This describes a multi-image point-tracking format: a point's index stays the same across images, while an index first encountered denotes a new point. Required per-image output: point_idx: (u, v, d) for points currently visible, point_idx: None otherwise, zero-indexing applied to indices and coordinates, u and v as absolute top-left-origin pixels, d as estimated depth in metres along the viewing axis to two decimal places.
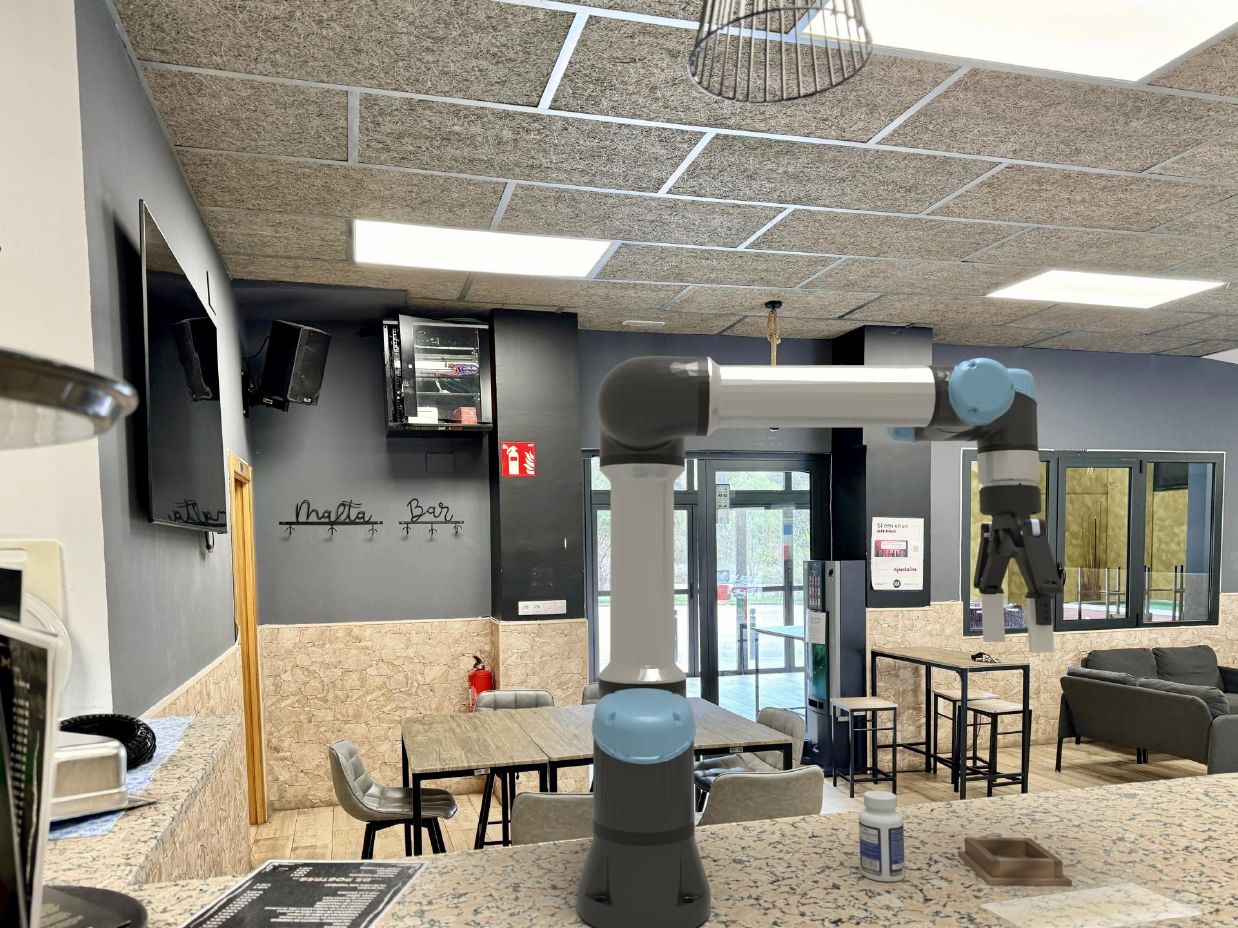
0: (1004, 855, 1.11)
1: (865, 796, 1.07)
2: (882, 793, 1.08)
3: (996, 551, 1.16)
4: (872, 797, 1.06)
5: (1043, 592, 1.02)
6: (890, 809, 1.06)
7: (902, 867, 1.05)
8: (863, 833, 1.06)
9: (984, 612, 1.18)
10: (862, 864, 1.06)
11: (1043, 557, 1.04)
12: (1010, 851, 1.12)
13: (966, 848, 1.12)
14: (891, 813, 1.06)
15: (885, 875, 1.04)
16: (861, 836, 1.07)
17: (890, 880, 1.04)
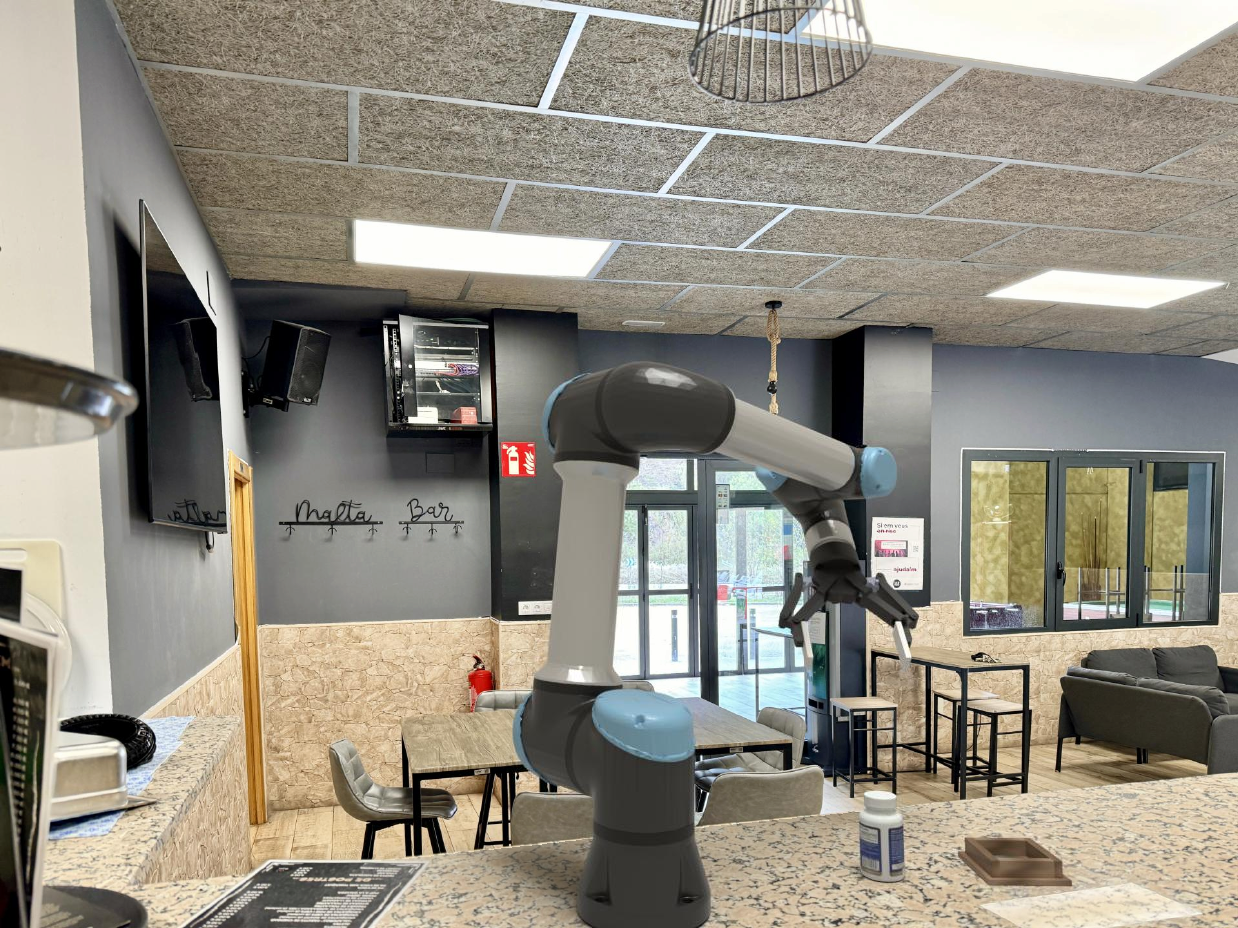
0: (1004, 855, 1.11)
1: (865, 796, 1.07)
2: (882, 793, 1.08)
3: None
4: (872, 797, 1.06)
5: (917, 618, 1.24)
6: (890, 809, 1.06)
7: (902, 867, 1.05)
8: (863, 833, 1.06)
9: (808, 634, 1.22)
10: (862, 864, 1.06)
11: None
12: (1010, 851, 1.12)
13: (966, 848, 1.12)
14: (891, 813, 1.06)
15: (885, 875, 1.04)
16: (861, 836, 1.07)
17: (890, 880, 1.04)
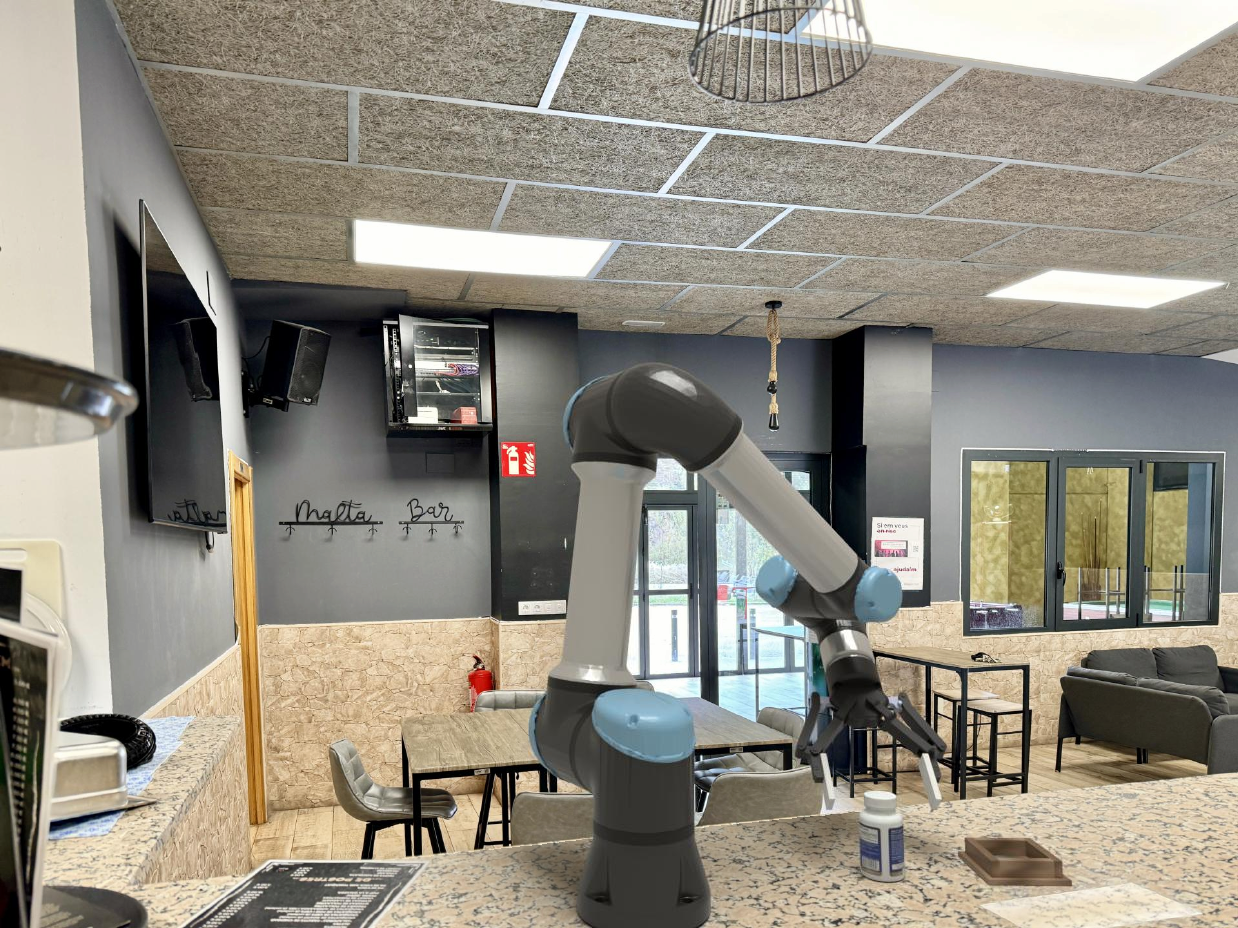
0: (1004, 855, 1.11)
1: (865, 796, 1.07)
2: (882, 793, 1.08)
3: None
4: (872, 797, 1.06)
5: (945, 749, 1.15)
6: (890, 810, 1.06)
7: (902, 867, 1.05)
8: (863, 833, 1.06)
9: (828, 770, 1.12)
10: (862, 864, 1.06)
11: None
12: (1010, 851, 1.12)
13: (966, 848, 1.12)
14: (891, 813, 1.06)
15: (885, 875, 1.04)
16: (861, 836, 1.07)
17: (890, 880, 1.04)
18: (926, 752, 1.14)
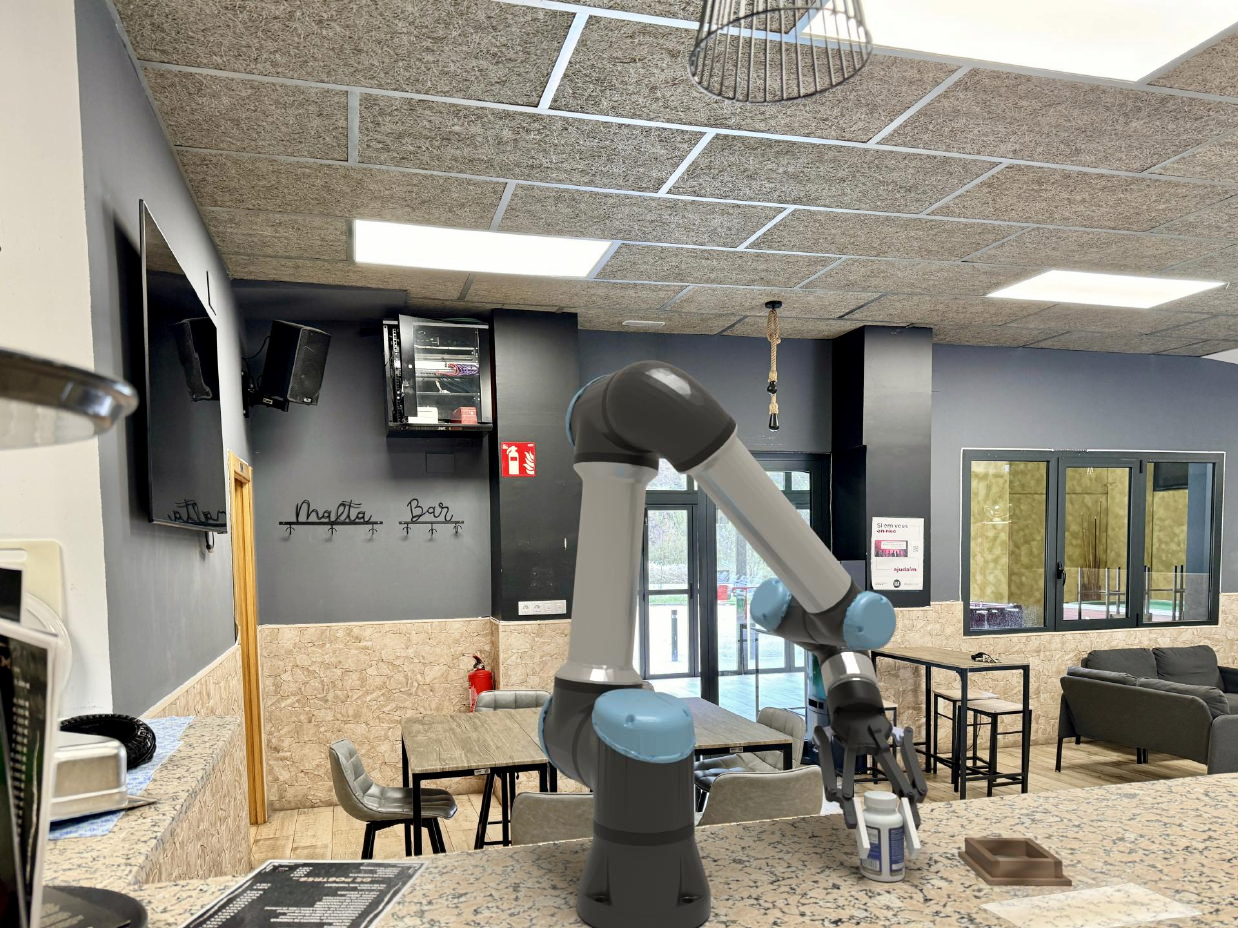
0: (1004, 855, 1.11)
1: (865, 796, 1.07)
2: (882, 793, 1.08)
3: None
4: (872, 797, 1.06)
5: (924, 793, 1.08)
6: (890, 809, 1.06)
7: (902, 867, 1.05)
8: None
9: (862, 816, 1.06)
10: (862, 864, 1.06)
11: None
12: (1010, 851, 1.12)
13: (966, 848, 1.12)
14: (891, 813, 1.06)
15: (885, 875, 1.04)
16: None
17: (890, 880, 1.04)
18: (904, 794, 1.08)
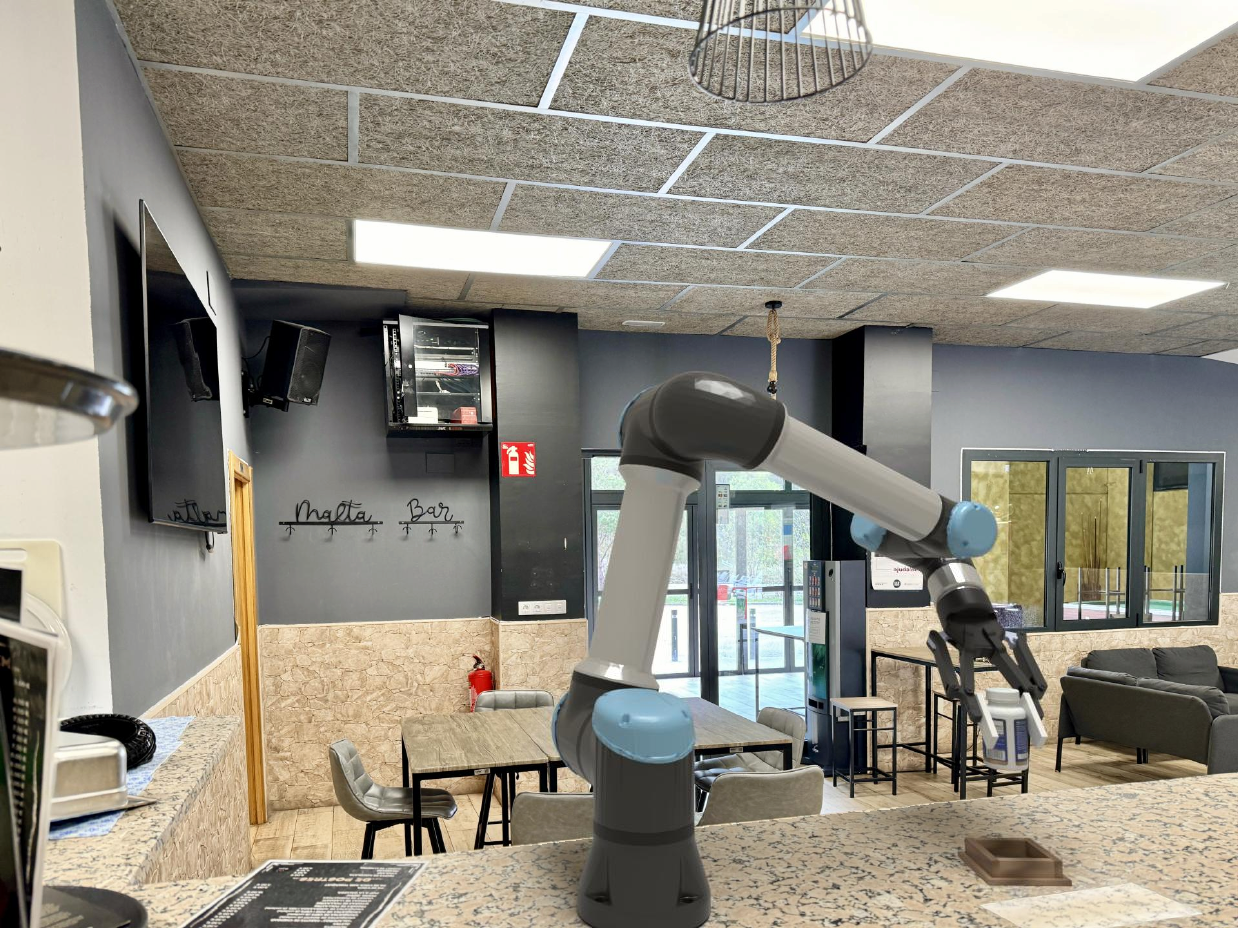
0: (1004, 855, 1.11)
1: (988, 691, 1.10)
2: (1003, 689, 1.11)
3: None
4: (996, 691, 1.09)
5: (1044, 689, 1.11)
6: (1014, 702, 1.09)
7: (1027, 757, 1.08)
8: None
9: (987, 709, 1.09)
10: (986, 756, 1.09)
11: None
12: (1010, 851, 1.12)
13: (966, 848, 1.12)
14: (1015, 706, 1.09)
15: (1011, 764, 1.07)
16: None
17: (1016, 769, 1.07)
18: (1025, 690, 1.11)
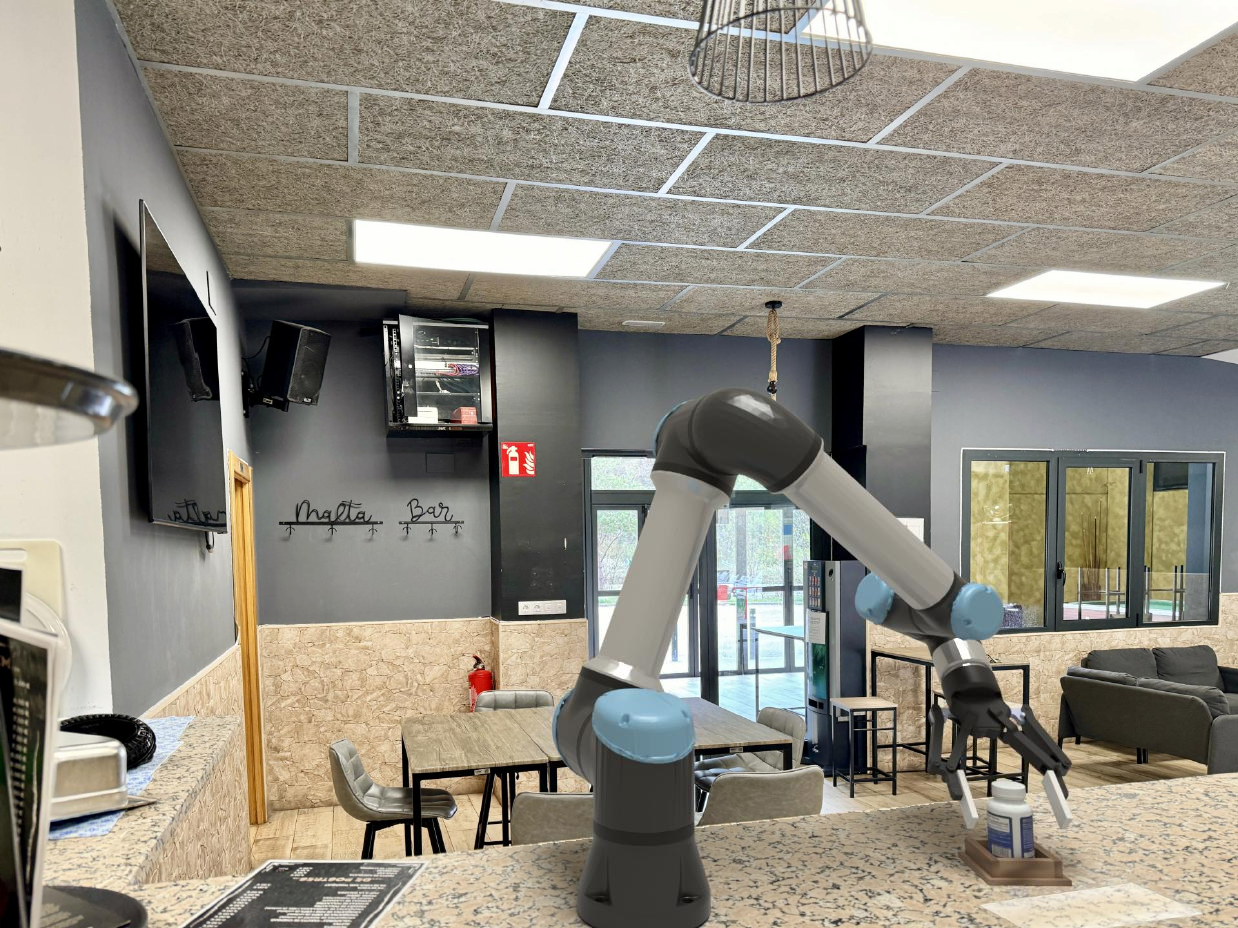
0: None
1: (994, 786, 1.09)
2: (1009, 783, 1.10)
3: None
4: (1002, 787, 1.08)
5: (1070, 766, 1.11)
6: (1020, 799, 1.07)
7: (1033, 855, 1.07)
8: (993, 822, 1.08)
9: (968, 787, 1.08)
10: (992, 852, 1.08)
11: None
12: None
13: (966, 848, 1.12)
14: (1021, 802, 1.08)
15: None
16: (991, 825, 1.08)
17: None
18: (1050, 768, 1.11)
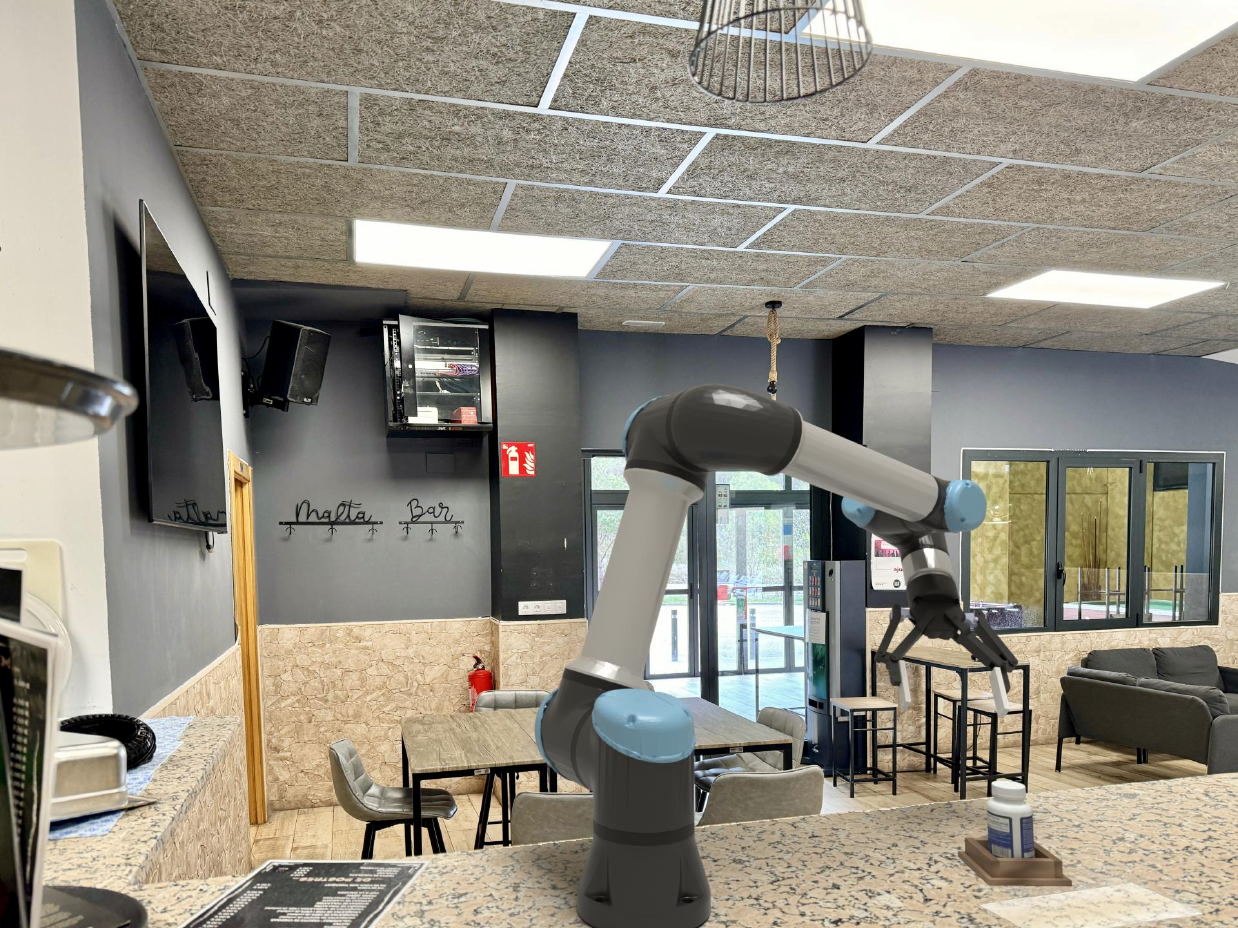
0: None
1: (994, 786, 1.09)
2: (1010, 783, 1.10)
3: None
4: (1002, 787, 1.08)
5: (1016, 664, 1.24)
6: (1020, 799, 1.07)
7: (1033, 855, 1.07)
8: (993, 822, 1.08)
9: (906, 676, 1.22)
10: (992, 852, 1.08)
11: None
12: None
13: (966, 848, 1.12)
14: (1021, 802, 1.08)
15: None
16: (991, 825, 1.08)
17: None
18: (998, 666, 1.24)
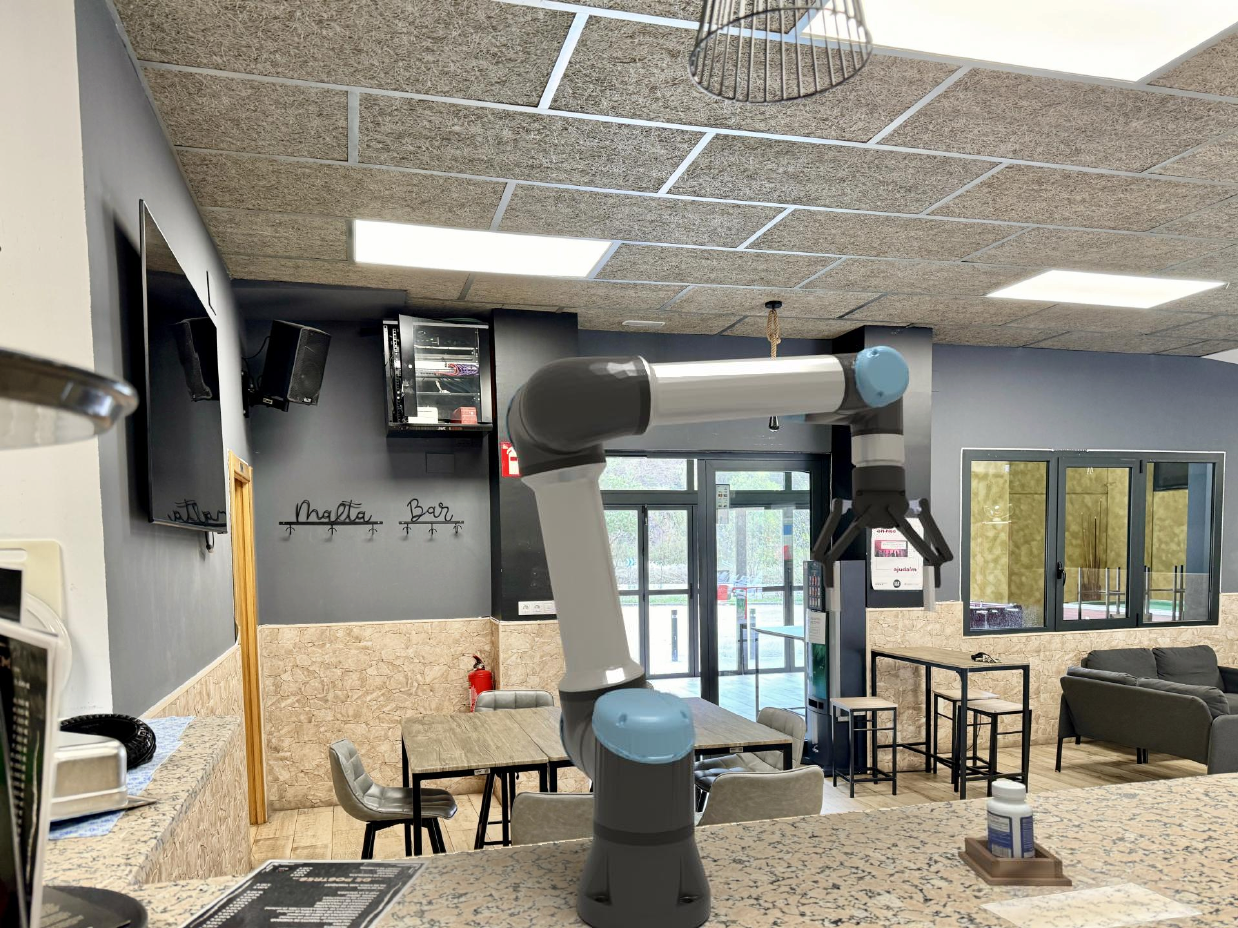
0: None
1: (994, 786, 1.09)
2: (1010, 783, 1.10)
3: None
4: (1002, 786, 1.08)
5: None
6: (1020, 799, 1.07)
7: (1033, 855, 1.07)
8: (993, 821, 1.08)
9: (839, 583, 1.23)
10: (992, 852, 1.08)
11: None
12: None
13: (966, 848, 1.12)
14: (1021, 802, 1.08)
15: None
16: (991, 825, 1.08)
17: None
18: (932, 563, 1.23)
